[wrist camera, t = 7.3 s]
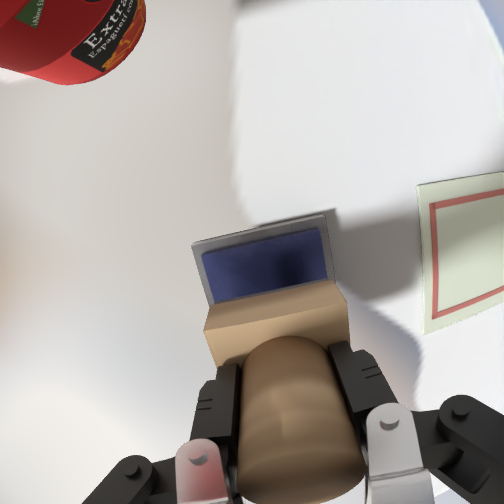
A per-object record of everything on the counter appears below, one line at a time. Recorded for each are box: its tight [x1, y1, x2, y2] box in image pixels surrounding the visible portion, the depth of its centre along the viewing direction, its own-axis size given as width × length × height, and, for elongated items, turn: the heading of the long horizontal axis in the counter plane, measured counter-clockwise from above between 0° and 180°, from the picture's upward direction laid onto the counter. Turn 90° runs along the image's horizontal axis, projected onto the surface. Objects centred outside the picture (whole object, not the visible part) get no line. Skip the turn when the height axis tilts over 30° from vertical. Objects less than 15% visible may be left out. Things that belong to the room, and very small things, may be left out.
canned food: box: [0, 0, 146, 85], centre depth 7 cm, size 8×8×11 cm
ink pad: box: [191, 214, 336, 307], centre depth 17 cm, size 9×7×1 cm
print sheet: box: [416, 172, 504, 335], centre depth 16 cm, size 10×9×1 cm
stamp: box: [203, 278, 367, 504], centre depth 10 cm, size 5×5×8 cm
